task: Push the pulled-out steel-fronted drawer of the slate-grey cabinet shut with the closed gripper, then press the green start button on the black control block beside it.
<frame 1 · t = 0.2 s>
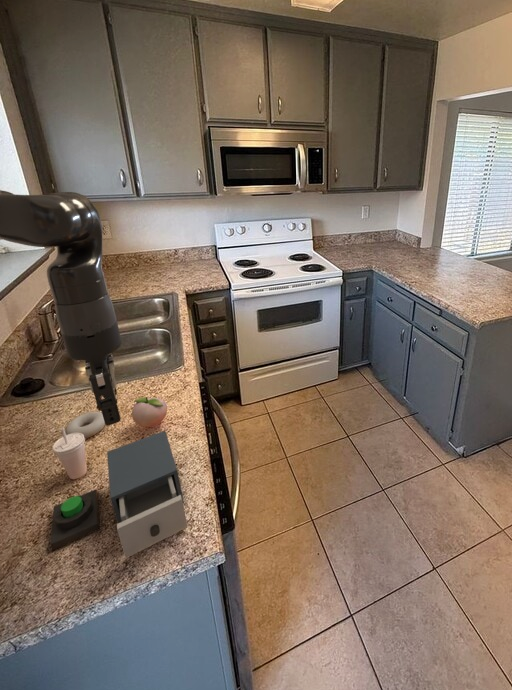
hand: (111, 408, 62), 32 cm above the counter, tool pointing down, fingers open, 8 cm apart
smoothie: (78, 473, 89), on the counter
drawer: (150, 504, 74), point 5 cm above the counter, slide at 6.0 cm
donut: (88, 430, 103), on the counter
start button: (72, 506, 75), point 4 cm above the counter, slide at 0.2 cm
decorative fruit: (152, 427, 104), on the counter
control block: (77, 520, 76), on the counter
cabinet: (148, 492, 83), on the counter
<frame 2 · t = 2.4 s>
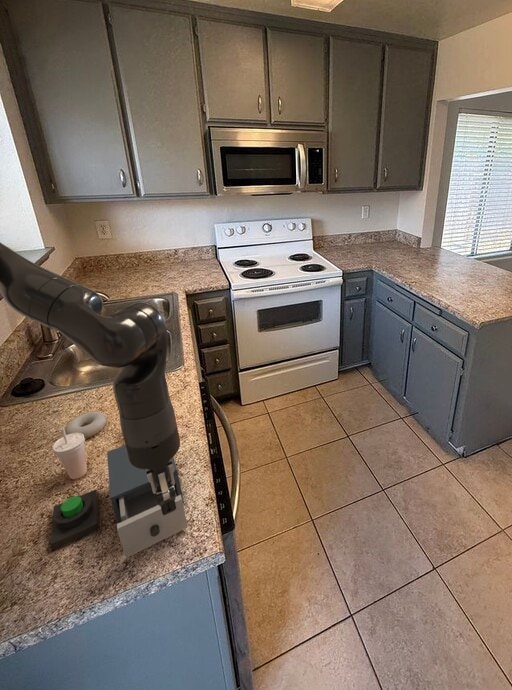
hand: (169, 509, 62), 15 cm above the counter, tool pointing down, fingers closed
nothing on the counter moved.
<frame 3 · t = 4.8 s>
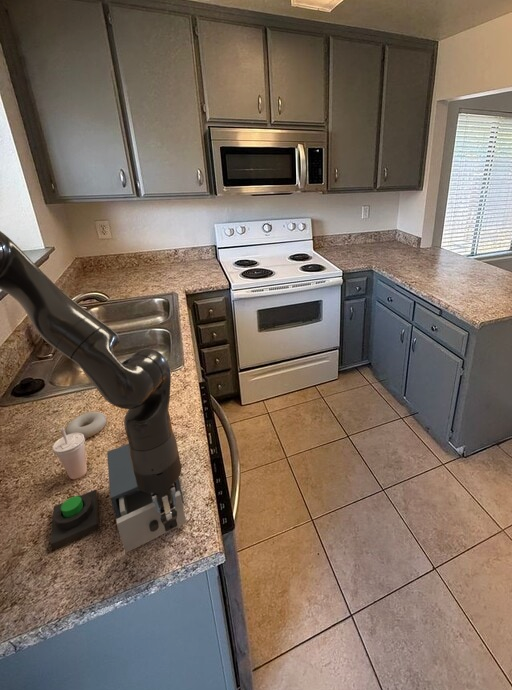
hand: (171, 526, 70), 5 cm above the counter, tool pointing down, fingers closed
drawer: (149, 500, 75), point 5 cm above the counter, slide at 4.8 cm, touching gripper
everything else where it was.
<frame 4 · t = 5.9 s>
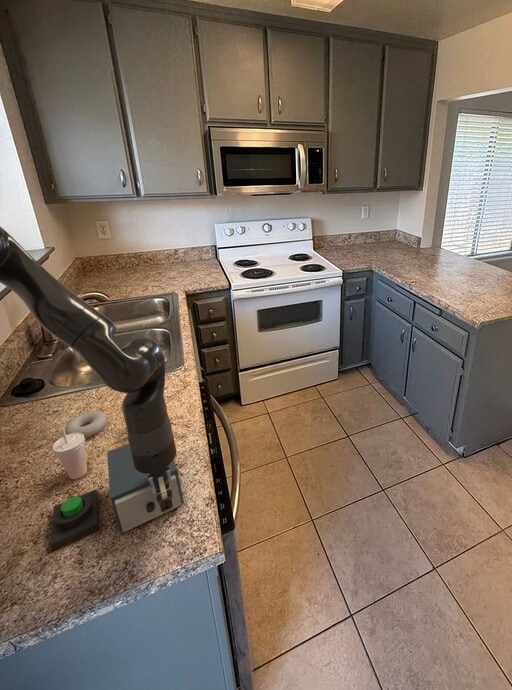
hand: (166, 507, 73), 5 cm above the counter, tool pointing down, fingers closed
drawer: (146, 484, 79), point 5 cm above the counter, slide at 0.0 cm, touching cabinet, gripper
everything else where it was.
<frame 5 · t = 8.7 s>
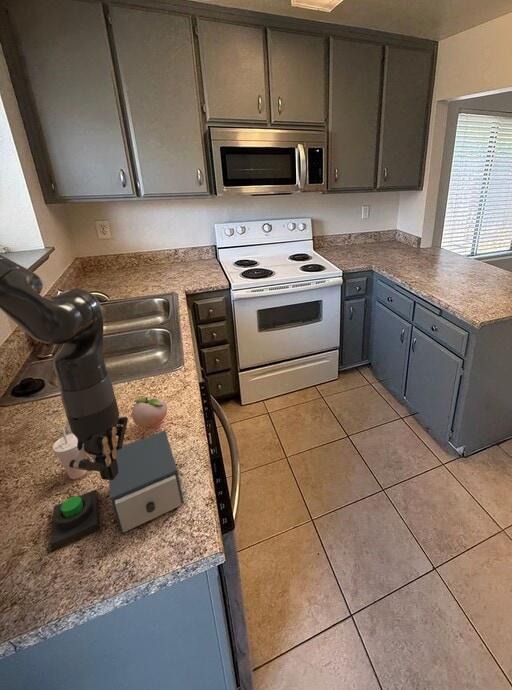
hand: (111, 476, 69), 15 cm above the counter, tool pointing down, fingers closed
drawer: (146, 484, 79), point 5 cm above the counter, slide at 0.0 cm
everything else where it was.
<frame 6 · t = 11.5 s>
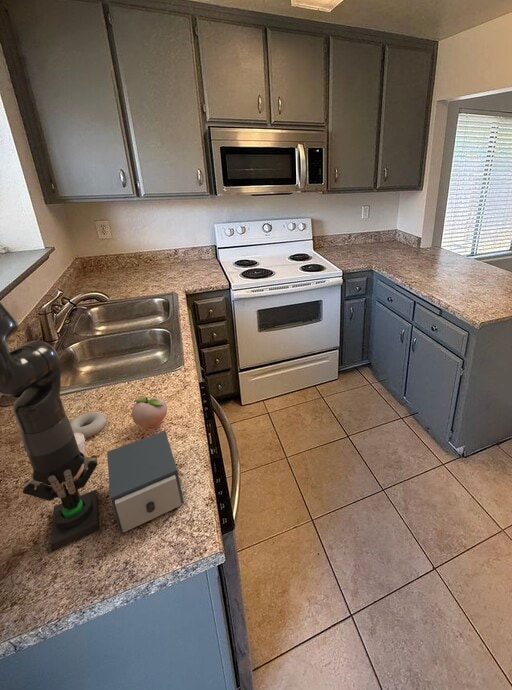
hand: (73, 505, 75), 4 cm above the counter, tool pointing down, fingers closed
start button: (73, 509, 75), point 3 cm above the counter, slide at -0.7 cm, touching gripper
everything else where it was.
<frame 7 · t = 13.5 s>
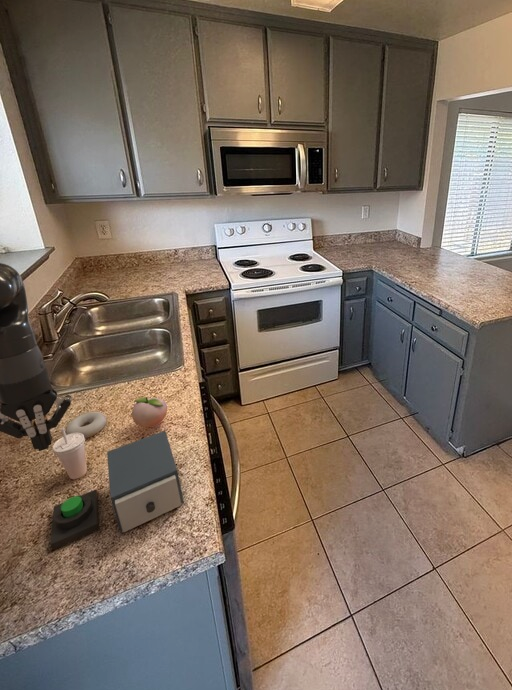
hand: (44, 447, 71), 19 cm above the counter, tool pointing down, fingers closed
start button: (72, 506, 75), point 4 cm above the counter, slide at 0.2 cm
everything else where it was.
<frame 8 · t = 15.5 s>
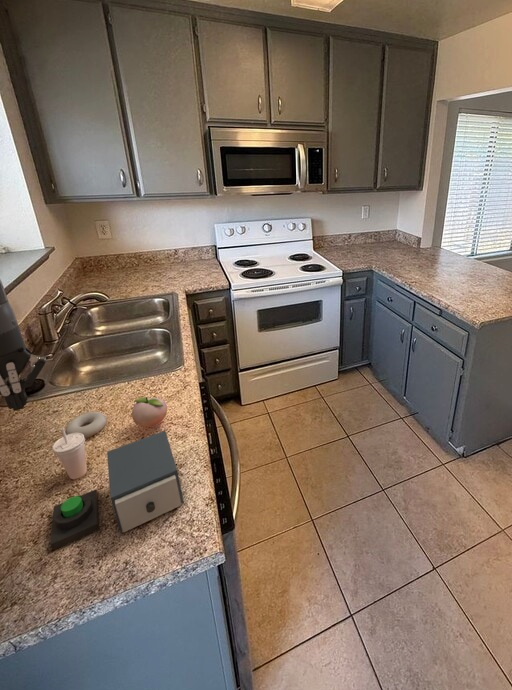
hand: (19, 407, 70), 27 cm above the counter, tool pointing down, fingers closed
nothing on the counter moved.
at the end: drawer slide at 0.0 cm; start button pushed in 1.1 cm at the most during the clip, back to 0.2 cm at the end; start button slide at 0.2 cm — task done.
